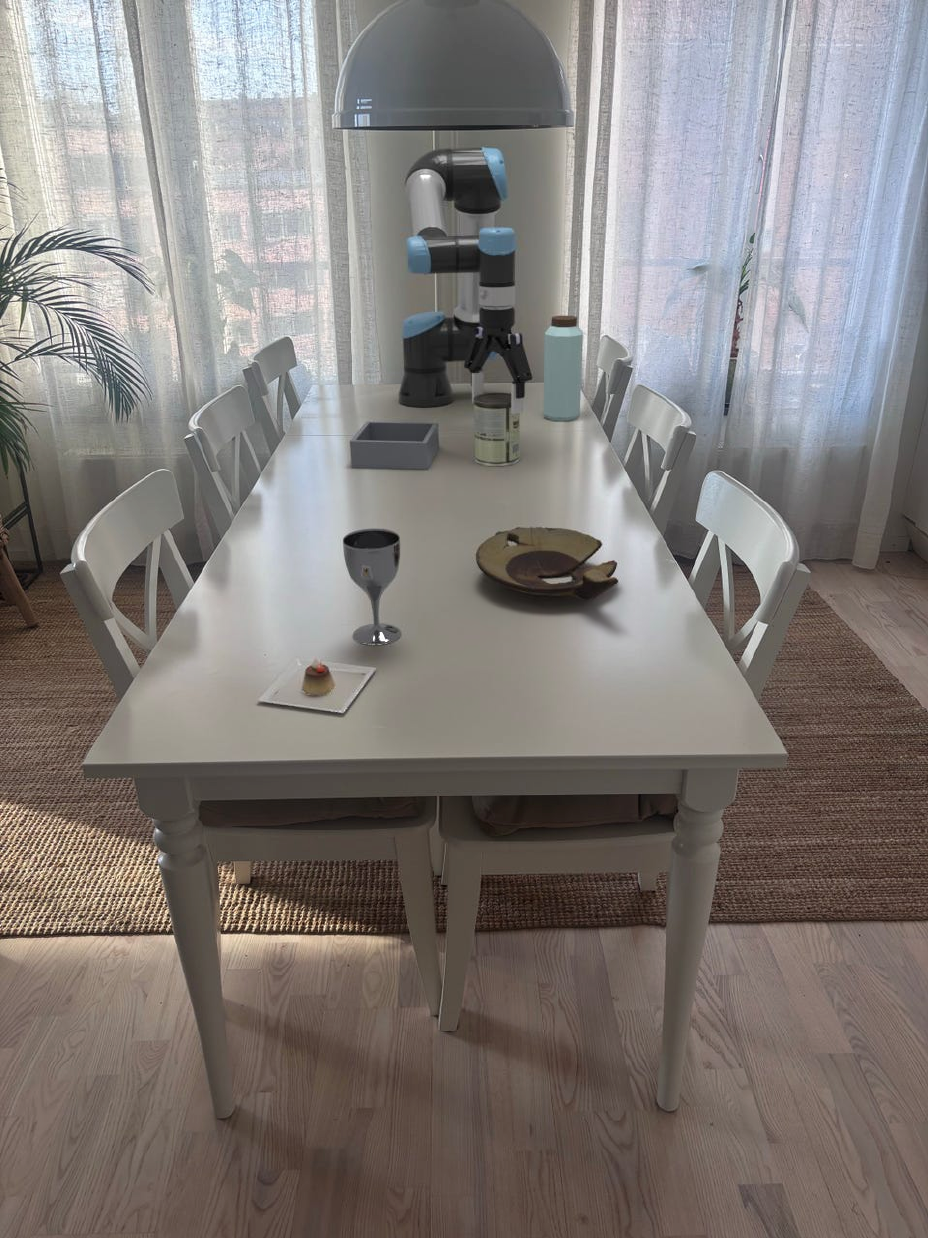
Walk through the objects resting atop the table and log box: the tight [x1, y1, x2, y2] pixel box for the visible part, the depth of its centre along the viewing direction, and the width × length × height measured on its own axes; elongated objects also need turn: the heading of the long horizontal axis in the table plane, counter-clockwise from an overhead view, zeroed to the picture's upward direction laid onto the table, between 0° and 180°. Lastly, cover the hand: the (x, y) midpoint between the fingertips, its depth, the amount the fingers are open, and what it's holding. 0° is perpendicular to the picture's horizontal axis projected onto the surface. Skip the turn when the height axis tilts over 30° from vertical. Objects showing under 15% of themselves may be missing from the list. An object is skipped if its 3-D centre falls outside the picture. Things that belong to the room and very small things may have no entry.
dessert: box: [256, 657, 377, 714], centre depth 129 cm, size 12×12×5 cm
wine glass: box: [342, 528, 402, 646], centre depth 140 cm, size 8×8×15 cm
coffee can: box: [473, 392, 521, 468], centre depth 217 cm, size 10×10×14 cm
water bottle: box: [542, 315, 584, 422], centre depth 248 cm, size 10×10×25 cm
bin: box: [349, 420, 440, 471], centre depth 222 cm, size 17×17×6 cm
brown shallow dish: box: [475, 526, 619, 601], centre depth 155 cm, size 22×30×8 cm
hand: (497, 407), depth 215 cm, fingers open, 13 cm apart
